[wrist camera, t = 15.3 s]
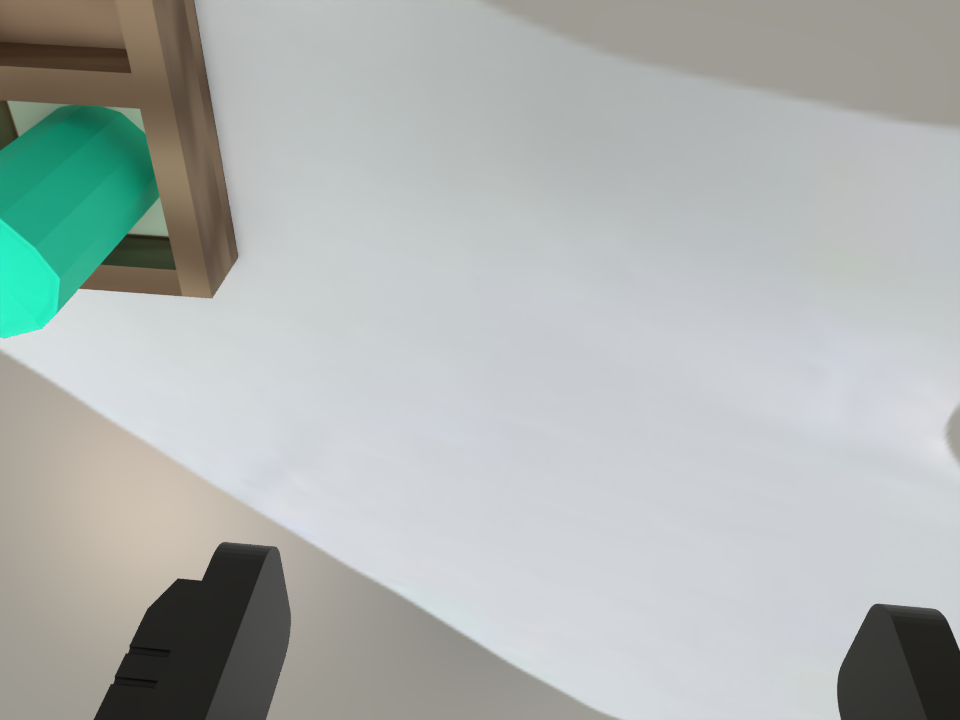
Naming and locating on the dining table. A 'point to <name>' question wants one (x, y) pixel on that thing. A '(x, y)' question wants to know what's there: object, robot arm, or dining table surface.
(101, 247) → the candle
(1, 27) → the slot rack
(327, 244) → the dining table surface
